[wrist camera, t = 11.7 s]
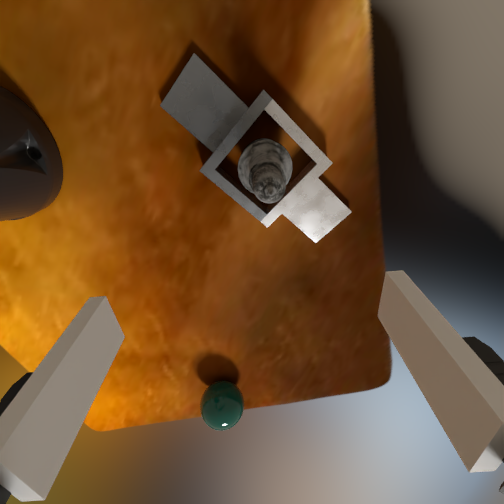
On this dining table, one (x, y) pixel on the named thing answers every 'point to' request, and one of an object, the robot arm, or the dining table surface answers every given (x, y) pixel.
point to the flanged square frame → (229, 133)
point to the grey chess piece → (265, 169)
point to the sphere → (222, 405)
